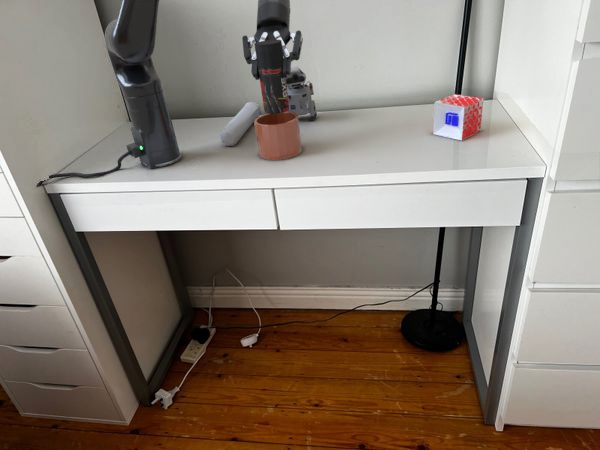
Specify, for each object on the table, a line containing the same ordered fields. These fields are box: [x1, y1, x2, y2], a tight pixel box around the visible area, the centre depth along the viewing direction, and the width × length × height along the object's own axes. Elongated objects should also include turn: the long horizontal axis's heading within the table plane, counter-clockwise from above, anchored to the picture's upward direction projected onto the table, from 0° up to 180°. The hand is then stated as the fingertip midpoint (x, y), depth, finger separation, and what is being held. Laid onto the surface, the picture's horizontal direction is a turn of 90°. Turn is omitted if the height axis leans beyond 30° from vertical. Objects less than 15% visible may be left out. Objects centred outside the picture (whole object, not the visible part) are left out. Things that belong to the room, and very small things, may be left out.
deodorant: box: [253, 40, 290, 114], centre depth 101 cm, size 6×6×15 cm
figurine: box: [286, 66, 318, 122], centre depth 126 cm, size 9×12×15 cm
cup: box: [253, 112, 302, 161], centre depth 108 cm, size 10×10×8 cm
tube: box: [219, 101, 261, 147], centre depth 126 cm, size 5×5×25 cm
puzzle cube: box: [432, 93, 485, 141], centre depth 107 cm, size 8×8×8 cm
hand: (270, 76), depth 99 cm, fingers closed on deodorant, 6 cm apart
